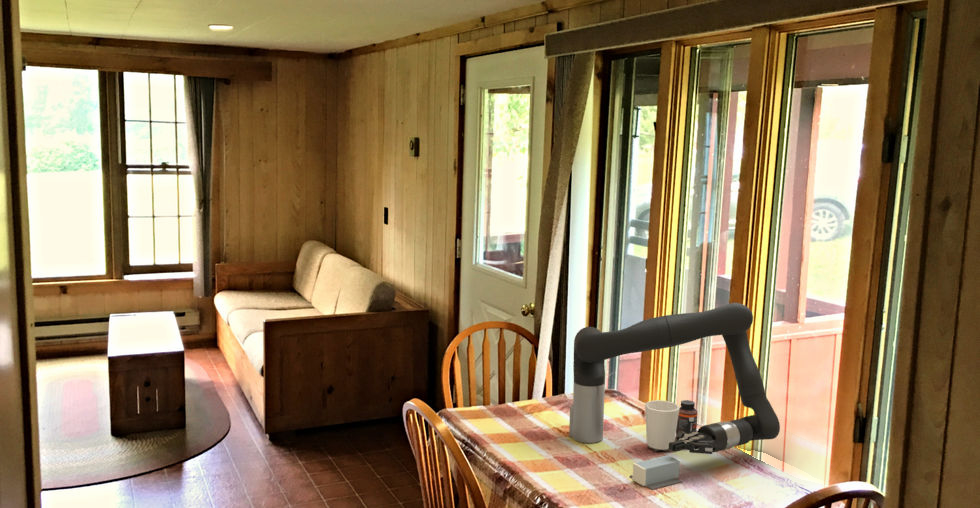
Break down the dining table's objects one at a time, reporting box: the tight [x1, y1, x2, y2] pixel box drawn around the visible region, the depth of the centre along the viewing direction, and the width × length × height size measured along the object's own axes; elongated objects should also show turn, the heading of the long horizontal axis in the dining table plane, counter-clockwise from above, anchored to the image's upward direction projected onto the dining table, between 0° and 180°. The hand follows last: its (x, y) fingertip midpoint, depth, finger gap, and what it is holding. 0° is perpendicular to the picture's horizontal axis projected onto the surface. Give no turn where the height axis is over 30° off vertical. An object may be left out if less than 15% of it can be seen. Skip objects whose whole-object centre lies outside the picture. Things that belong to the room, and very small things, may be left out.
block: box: [631, 454, 681, 487], centre depth 214 cm, size 4×4×12 cm
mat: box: [629, 474, 683, 491], centre depth 214 cm, size 9×10×1 cm
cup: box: [644, 399, 680, 453], centre depth 236 cm, size 10×10×13 cm
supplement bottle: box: [675, 399, 698, 437], centre depth 243 cm, size 6×6×11 cm
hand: (670, 447), depth 216 cm, fingers closed
